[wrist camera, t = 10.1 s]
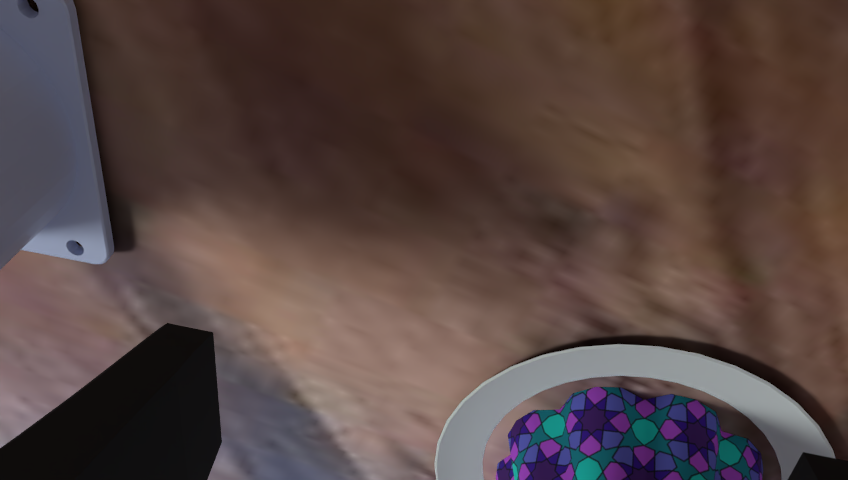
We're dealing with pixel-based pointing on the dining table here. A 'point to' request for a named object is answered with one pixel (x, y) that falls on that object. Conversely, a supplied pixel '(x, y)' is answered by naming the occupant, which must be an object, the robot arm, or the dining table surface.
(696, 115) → the dining table surface
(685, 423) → the pudding
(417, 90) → the dining table surface
